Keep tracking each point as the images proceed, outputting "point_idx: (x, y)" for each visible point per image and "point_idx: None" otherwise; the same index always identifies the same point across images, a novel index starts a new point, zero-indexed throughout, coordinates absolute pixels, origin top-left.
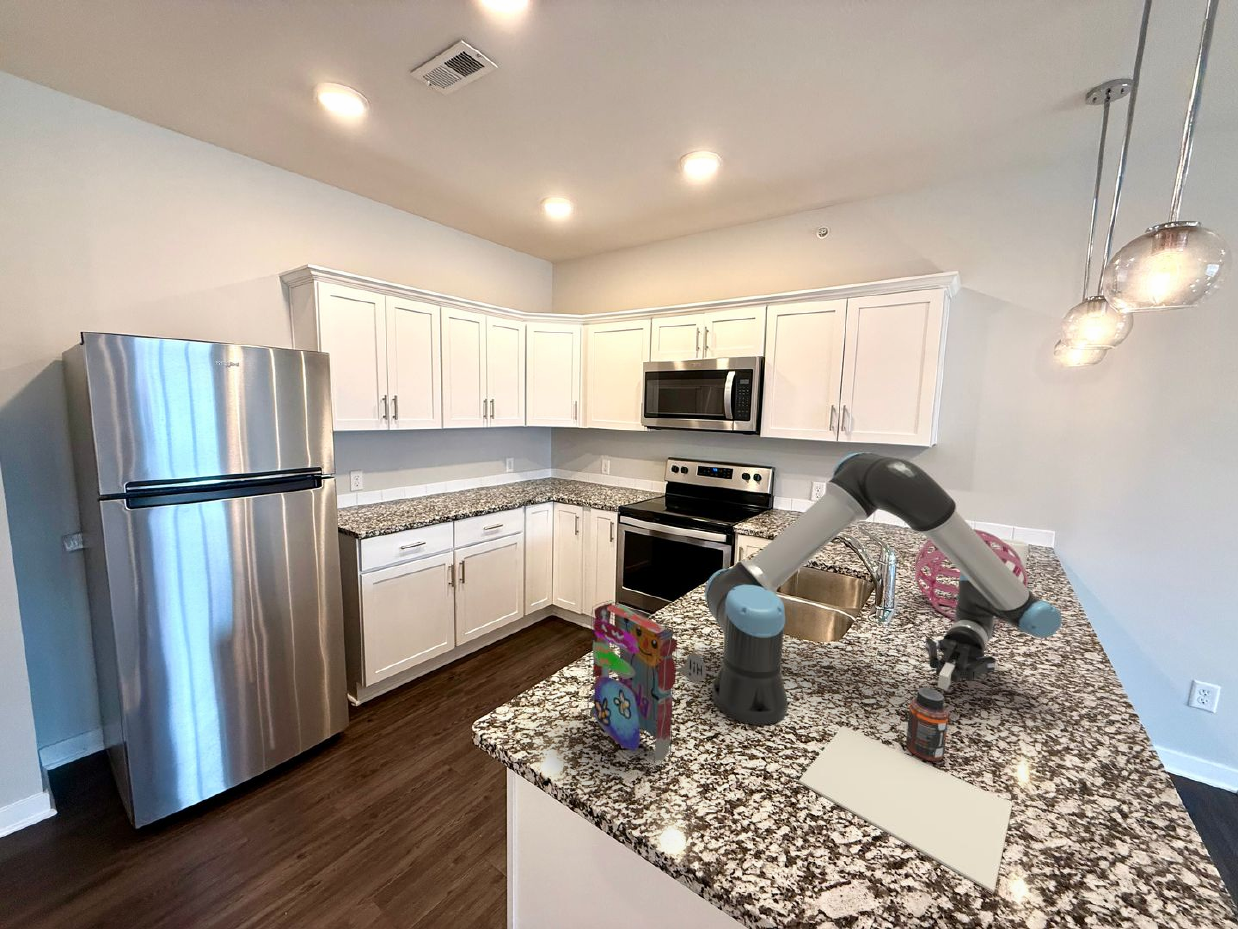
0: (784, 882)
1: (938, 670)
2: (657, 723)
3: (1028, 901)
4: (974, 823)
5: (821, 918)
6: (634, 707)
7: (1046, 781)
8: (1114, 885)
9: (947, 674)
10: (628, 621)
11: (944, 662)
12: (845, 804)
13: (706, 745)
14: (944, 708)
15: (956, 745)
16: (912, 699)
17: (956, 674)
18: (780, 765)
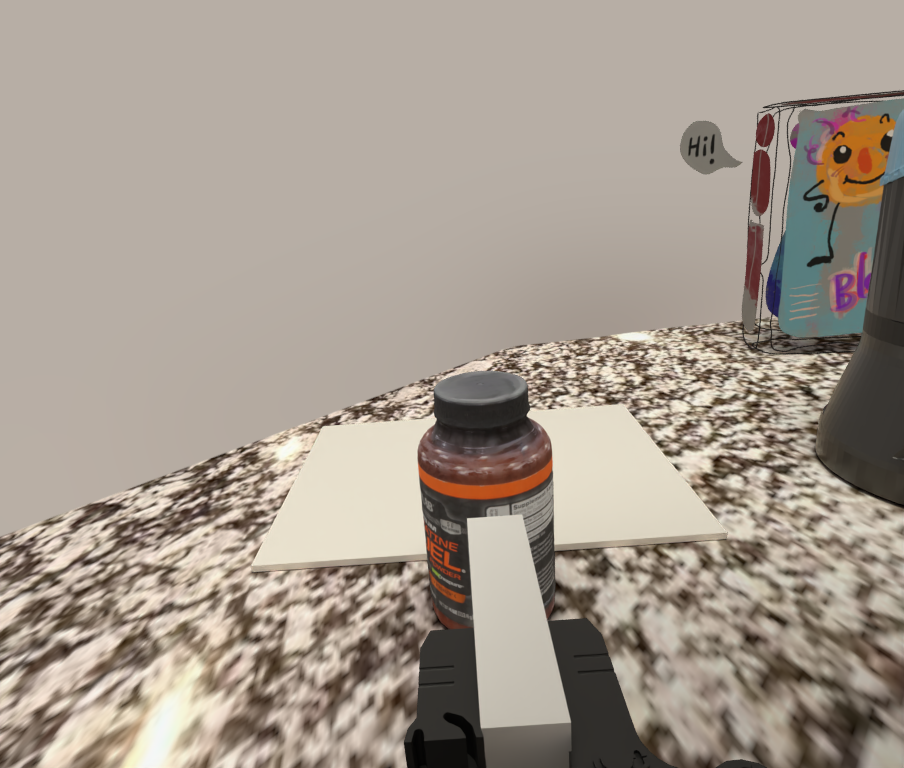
0: (525, 357)
1: (574, 627)
2: (747, 260)
3: (279, 443)
4: (344, 481)
5: (479, 358)
6: (784, 244)
7: (68, 758)
8: (115, 520)
9: (480, 541)
10: None
11: (592, 739)
12: (538, 411)
13: (784, 382)
14: (432, 438)
15: (405, 724)
16: (545, 431)
17: (438, 645)
18: (675, 412)
